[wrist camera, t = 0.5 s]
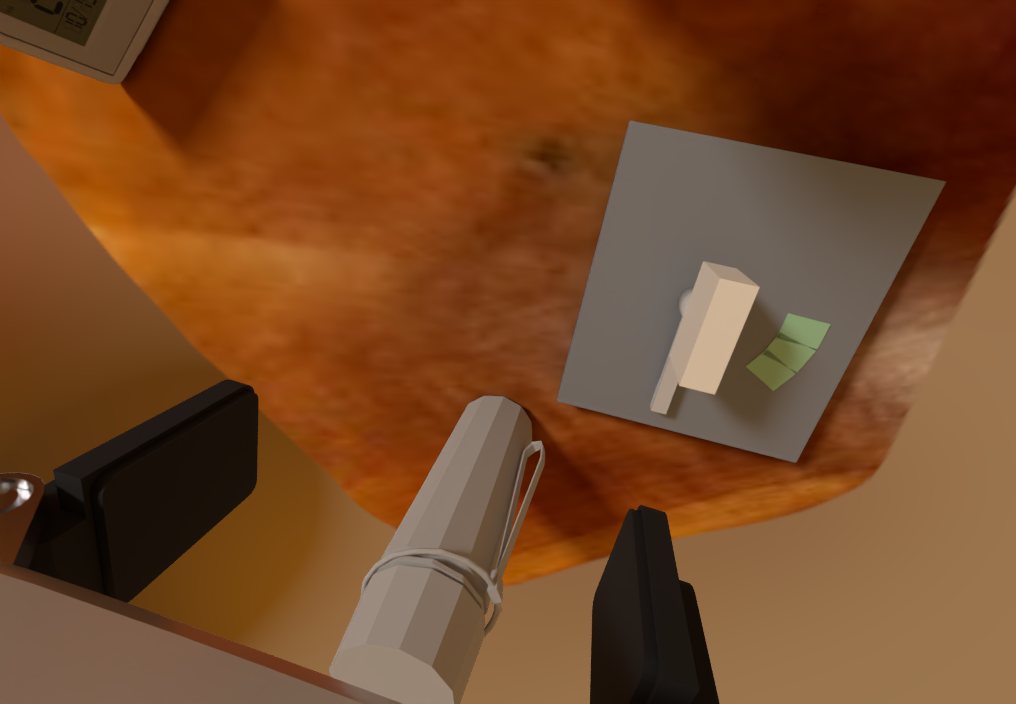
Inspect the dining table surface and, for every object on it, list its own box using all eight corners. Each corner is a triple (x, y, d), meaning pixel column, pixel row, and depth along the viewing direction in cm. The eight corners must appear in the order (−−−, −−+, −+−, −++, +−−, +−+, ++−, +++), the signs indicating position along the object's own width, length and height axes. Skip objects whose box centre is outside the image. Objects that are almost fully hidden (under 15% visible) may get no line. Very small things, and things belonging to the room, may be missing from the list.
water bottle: (476, 464, 48) (357, 742, 25) (449, 396, 45) (291, 635, 22) (564, 449, 45) (521, 746, 22) (541, 377, 43) (467, 625, 20)
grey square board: (628, 123, 34) (630, 120, 31) (921, 180, 32) (947, 181, 29) (559, 388, 43) (556, 401, 40) (785, 446, 41) (796, 463, 38)
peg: (693, 252, 34) (718, 277, 26) (727, 260, 34) (761, 287, 26) (642, 401, 39) (650, 456, 32) (671, 408, 39) (686, 466, 31)
